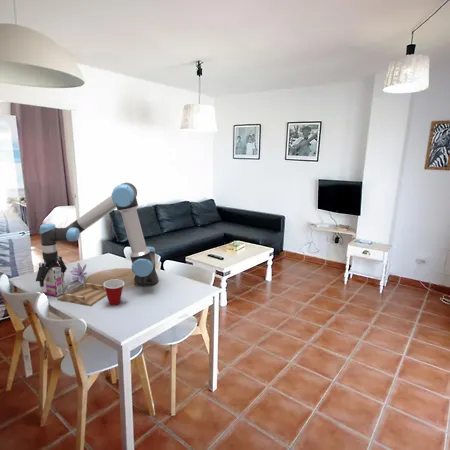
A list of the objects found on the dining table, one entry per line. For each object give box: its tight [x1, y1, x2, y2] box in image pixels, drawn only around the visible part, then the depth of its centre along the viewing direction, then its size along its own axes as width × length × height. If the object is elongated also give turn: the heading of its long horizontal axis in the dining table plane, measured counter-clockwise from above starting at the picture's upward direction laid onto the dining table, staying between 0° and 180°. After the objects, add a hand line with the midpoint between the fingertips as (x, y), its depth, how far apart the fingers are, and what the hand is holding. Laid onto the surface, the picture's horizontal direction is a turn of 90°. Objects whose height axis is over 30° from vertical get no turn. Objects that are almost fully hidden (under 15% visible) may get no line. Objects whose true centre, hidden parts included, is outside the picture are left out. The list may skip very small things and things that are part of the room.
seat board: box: [56, 282, 107, 307], centre depth 181 cm, size 22×18×5 cm
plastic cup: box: [102, 278, 125, 306], centre depth 172 cm, size 11×11×12 cm
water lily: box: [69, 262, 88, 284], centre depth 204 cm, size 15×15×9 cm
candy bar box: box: [42, 266, 64, 298], centre depth 182 cm, size 11×5×16 cm, turn 68°
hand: (53, 286), depth 182 cm, fingers open, 12 cm apart
